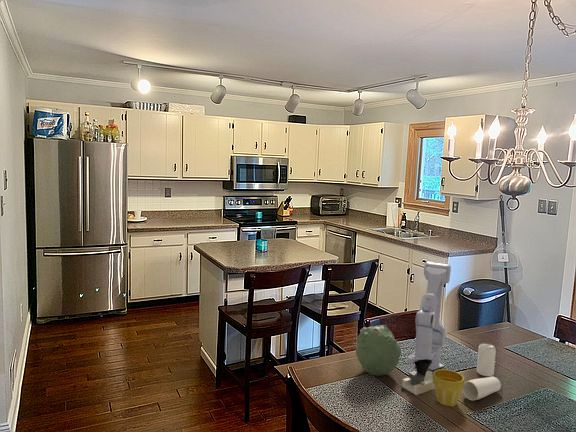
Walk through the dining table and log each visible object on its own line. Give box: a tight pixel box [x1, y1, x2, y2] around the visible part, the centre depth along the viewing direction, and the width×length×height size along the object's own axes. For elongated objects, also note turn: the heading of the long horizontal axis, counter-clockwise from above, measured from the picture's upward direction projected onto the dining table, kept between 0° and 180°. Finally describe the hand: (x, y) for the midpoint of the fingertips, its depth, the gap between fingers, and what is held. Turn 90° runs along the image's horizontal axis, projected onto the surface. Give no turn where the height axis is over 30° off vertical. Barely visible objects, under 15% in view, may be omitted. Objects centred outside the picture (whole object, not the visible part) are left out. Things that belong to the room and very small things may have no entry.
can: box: [476, 342, 496, 378], centre depth 180 cm, size 6×6×12 cm
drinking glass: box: [462, 375, 502, 402], centre depth 163 cm, size 7×7×15 cm
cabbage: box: [355, 324, 402, 377], centre depth 176 cm, size 16×19×20 cm
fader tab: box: [407, 370, 425, 386], centre depth 166 cm, size 5×3×4 cm, turn 32°
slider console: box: [401, 370, 435, 396], centre depth 168 cm, size 7×15×3 cm, turn 123°
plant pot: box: [432, 368, 465, 407], centre depth 157 cm, size 10×10×10 cm
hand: (421, 377), depth 167 cm, fingers closed
